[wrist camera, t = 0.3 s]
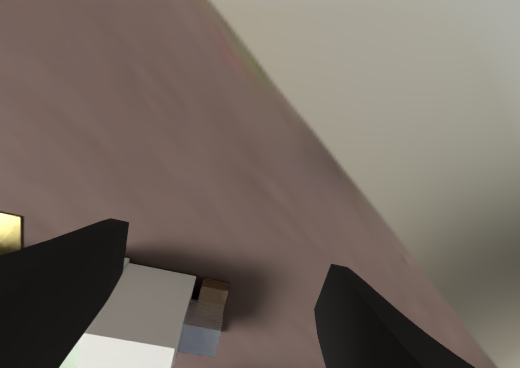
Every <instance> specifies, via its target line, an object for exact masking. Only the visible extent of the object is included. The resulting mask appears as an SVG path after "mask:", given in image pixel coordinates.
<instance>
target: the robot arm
mask: <svg viewBox="0 0 520 368" xmlns="http://www.w3.org/2000/svg"><path fill="white" fill-rule="evenodd" d="M128 226H129V222H126V221H121V220H116V219H111V218H110V219H107V220H103V221H100V222H97V223H95V224H92V225H89V226H86V227H84V228H81V229H78V230H76V231H73V232H70V233H67V234H65V235H62V236H59V237H56V238H53V239H51V240H48V241H44V242H41V243H38V244H35V245H32V246H29V247H26V248H23V249H20V250H17V251H14V252H10V253H7V254H3V255H0V368H59V367H60V366H61V364H62V363H63V361H64V360H65V359H66V357H67V356H68V355H69V353H70V352H71V350H72V349H73V348H74V346H75V345H76V344H77V342H78V341H79V339H80V338H81V337H82V335H83V334H84V333H85V331H86V330H87V328H88V327H89V326H90V324H91V323H92V322H93V320H94V319H95V317H96V316H97V315H98V313H99V312H100V311H101V309H102V308H103V306H104V305H105V303H106V302H107V301H108V299H109V297H110V296H111V294H112V292H113V290H114V289H115V287H116V285H117V283H118V281H119V279H120V277H121V275H122V274H123V267H124V259H125V250H126V242H127V234H128ZM314 311H315V320H316V327H317V334H318V339H319V343H320V347H321V351H322V354H323V358H324V362H325V365H326V368H475V367H473V366H472V365H470V364H469V363H467V362H466V361H464V360H463V359H461V358H460V357H458V356H457V355H456V354H454V353H453V352H451V351H450V350H449V349H447V348H446V347H444V346H443V345H442V344H440V343H439V342H437V341H436V340H435V339H433V338H432V337H431V336H429V335H428V334H427V333H425V332H424V331H423V330H422V329H420V328H419V327H418V326H417V325H415V324H414V323H413V322H412V321H410V320H409V319H408V318H407V317H405V316H404V315H403V314H402V313H401V312H399V311H398V310H397V309H396V308H395V307H394V306H392V305H391V304H390V303H389V302H388V301H387V300H386V299H384V298H383V297H382V296H381V295H380V294H379V293H378V292H376V291H375V290H374V289H373V288H372V287H371V286H370V285H369V284H367V283H366V282H365V281H364V280H363V279H362V278H360V277H359V276H358V275H357V274H356V273H354V272H353V271H352V270H350V269H349V268H348V267H344V266H339V265H334V264H331V266H330V269H329V271H328V274H327V277H326V279H325V282H324V285H323V287H322V290H321V293H320V295H319V298H318V301H317V303H316V306H315V309H314Z"/></svg>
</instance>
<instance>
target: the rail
mask: <svg viewBox="0 0 520 368" xmlns="http://www.w3.org/2000/svg"><path fill="white" fill-rule="evenodd" d="M20 249H21V217H20V216H15V215H11V214H6V213H1V212H0V255H3V254H7V253H10V252H14V251H17V250H20ZM228 290H229V283H228V282H223V281H218V280H213V279H208V278H203V282H202V286H201V290H200V295H199V299H198V300H193V299H190V302H189V305H188V309H187V312H186V315H185V319H184V322H183V326H182V331H181V336H180V340H179V345H178V349H177V351H179V352H185V353H191V354H196V355H202V356H208V357H214V356H215V352H216V349H217V345H218V341H219V338H220V334H221V329H222V322H223V314H224V306H225V302H226V298H227V295H228Z"/></svg>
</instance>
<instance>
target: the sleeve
mask: <svg viewBox="0 0 520 368" xmlns="http://www.w3.org/2000/svg"><path fill="white" fill-rule="evenodd" d="M195 280H196V276H192V275H187V274H182V273H177V272H172V271H167V270H162V269H157V268H152V267H147V266H142V265H137V264H132V263H129V264H128V265H127V267H126V268H125V270H124V271H123V274H122V275H121V277H120V279H119V281H118V283H117V285H116V287H115V289H114V290H113V292H112V294H111V296H110V297H109V299H108V301H107V302H106V303H105V305H104V306H103V308H102V309H101V311H100V312H99V313H98V315H97V316H96V317H95V319H94V320H93V322H92V323H91V324H90V326H89V327H88V328H87V330H86V331H85V333H84V334H83V335H82V337H81V338H80V341H79V354H78V366H77V368H174V365H175V362H176V358H177V354H178V351H177V349H178V345H179V340H180V336H181V331H182V326H183V322H184V319H185V315H186V312H187V309H188V305H189V302H190V299H191V298H192V294H193V289H194V285H195Z"/></svg>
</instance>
